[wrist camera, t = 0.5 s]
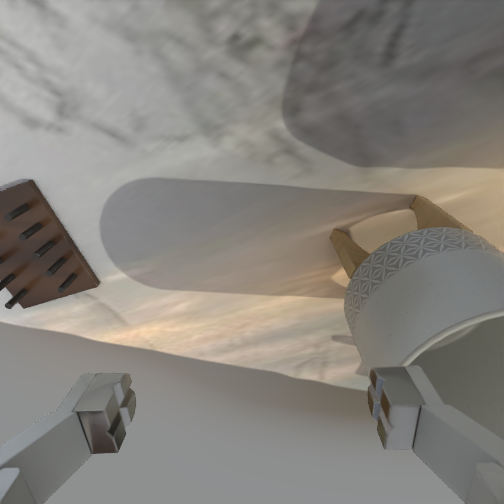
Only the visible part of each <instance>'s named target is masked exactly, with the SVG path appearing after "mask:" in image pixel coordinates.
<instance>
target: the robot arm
mask: <svg viewBox="0 0 504 504" xmlns="http://www.w3.org/2000/svg"><path fill="white" fill-rule="evenodd" d="M369 377H370V380H371V382H372V384H371V385H370V386H369V387H368V404H369V408H370V412H371V415H372V417H373V418H374V419H375V420H376V421H377V422H378V426H377V431H378V434H379V436H380V439H381V442H382V444H383V447H384V449H401V450H402V449H403V450H405V449H406V450H413V452H414V453H415V454H416V455H417V456H418V457H419V458H420V459H421V460H422V461H423V462H424V463H425V464H426V465H427V466H428V467H429V468H430V469H431V470H432V471H433V472H434V473H435V474H436V475H437V476H438V477H439V478H440V479H441V480H442V481H443V482H444V483H445V484H446V485H447V486H448V487H449V488H450V489H451V490H452V491H453V492H454V493H456V494H457V495H458V496H459V498H460V499H461V500H462V501H464V503H465V504H504V440H503V439H502V438H500V437H499V436H497V435H496V434H494V433H492V432H491V431H489V430H488V429H486V428H485V427H483V426H482V425H480V424H479V423H477V422H476V421H474V420H473V419H471V418H469V417H468V416H466V415H465V414H463V413H462V412H460V411H459V410H457V409H456V408H454V407H453V406H451V405H445V404H444V403H443V401H442V399H441V398H440V396H439V395H438V393H437V392H436V390H435V389H434V387H433V385H432V384H431V382H430V381H429V379H428V378H427V376H426V375H425V373H424V371H423V370H422V368H421V367H420V366H418V365H414V366H392V367H371V369H370V374H369ZM131 382H132V381H131V378H130V374H127V373H99V374H90V373H87V374H83V375H82V376H80V378H79V379H78V381H77V382H76V383H75V385H74V386H73V388H72V389H71V391H70V392H69V393H68V395H67V396H66V398H65V399H64V401H63V402H62V403H61V405H60V406H59V408H58V409H57V411H56V412H51V413H49V414H48V415H46V416H45V417H43V418H42V419H40V420H39V421H37V422H36V423H34V424H33V425H31V426H30V427H28V428H27V429H25V430H24V431H22V432H21V433H19V434H17V435H16V436H14V437H13V438H11V439H10V440H8V441H7V442H5V443H4V444H2V445H1V446H0V504H43V503H44V502H45V501H46V500H47V499H48V498H49V497H50V496H51V495H52V494H53V493H54V492H55V491H56V490H57V489H58V488H59V487H61V485H63V483H65V482H66V480H67V479H69V478H70V477H71V476H72V475H73V473H75V472H76V471H77V470H78V469H79V468H80V467H81V466H82V465H83V463H85V461H87V460H88V459H89V458H90V457H91V454H99V453H118V452H119V449H120V447H121V445H122V442H123V440H124V438H125V435H126V432H125V428H124V427H126V426H127V425H128V424H129V423H130V422H131V421H132V418H133V416H134V413H135V407H136V397H135V393H134V391H133V390H131V389H130V388H129V387H130V385H131Z"/></svg>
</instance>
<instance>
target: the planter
mask: <svg viewBox="0 0 504 504" xmlns="http://www.w3.org/2000/svg"><path fill="white" fill-rule="evenodd" d="M410 207H411V208H412V209H413V210H414V212H415V214H416V217H417V223H418V230H417V231H413V232H410V233H407V234H404V235H402V236H399V237H397V238H395V239H393V240H391V241H389V242H388V243H386V244H384V245H382V246H381V247H380V248H378V249H377V250H376V251H374V252H373V253H372V254H369V253H368V252H366V251H365V250H363V249H362V248H361V247H359V246H358V245H357V244H356V243H354V242H353V241H352V240H351V239H350V238H349V237H348V236H347V234H346V233H345V232H342V231H339V230H337V229H334V231H333V233H332V235H331V237H330V239H331V241H332V243H333V245H334V247H335V249H336V251H337V254H338V256H339V258H340V260H341V262H342V264H343V266H344V269H345V271H346V273H347V275H348V277H349V278H350V279H351V280H350V282H349V285H348V287H347V290H346V295H345V301H344V310H345V316H346V319H347V322H348V325H349V327H350V330H351V333H352V335H353V338H354V341H355V343H356V346H357V349H358V351H359V354H360V357H361V359H362V362H363V365H364V367H365V370H366V372H367V375H368V378H369V380H370V377H369V374H370V369H371V367H392V366H414V365H418V366H420V367H421V368H422V370H423V371H424V373H425V375H426V376H427V378H428V379H429V381H430V382H431V384H432V385H433V387H434V389H435V390H436V392H437V393H438V395H439V396H440V398H441V399H442V401H443V403H444V404H445V405H451V406H453V407H454V408H456V409H457V410H459V411H460V412H462V413H463V414H465V415H466V416H468V417H469V418H471V419H473V420H474V421H476V422H477V423H479V424H480V425H482V426H483V427H485V428H486V429H488V430H489V431H491V432H492V433H494V434H496V435H497V436H499V437H500V438H502V439H503V440H504V253H503V252H502V251H500V250H499V249H497V248H496V247H495V246H493V245H492V244H490V243H489V242H487V241H486V240H485V239H483V238H482V237H480V236H478V235H476V234H474V233H473V231H471V230H470V229H469V228H467V227H466V226H464V225H463V224H462V223H460V222H459V221H457V220H456V219H455V218H453V217H452V216H450V215H449V214H448V213H446V212H445V211H443V210H442V209H441V208H439V207H438V206H436V205H435V204H434V203H432V202H431V201H429V200H428V199H426V198H424V197H421V196H419V195H417V197H416V198H415V200H414V201H413V203H412V205H411V206H410ZM370 383H371V384H372V382H371V380H370ZM412 451H413V450H412Z"/></svg>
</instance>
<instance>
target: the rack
mask: <svg viewBox="0 0 504 504" xmlns="http://www.w3.org/2000/svg"><path fill="white" fill-rule="evenodd" d="M99 284H100V281H99V280H98V278H97V277H96V275H95V274H94V272H93V271H92V269H91V268H90V266H89V265H88V263H87V262H86V260H85V259H84V257H83V256H82V254H81V253H80V251H79V250H78V248H77V246H76V245H75V243H74V242H73V240H72V239H71V237H70V236H69V234H68V233H67V231H66V230H65V228H64V227H63V225H62V224H61V222H60V221H59V219H58V218H57V216H56V215H55V213H54V211H53V210H52V208H51V207H50V205H49V204H48V202H47V201H46V199H45V198H44V196H43V195H42V193H41V192H40V190H39V189H38V187H37V186H36V184H35V183H34V181H33V180H30V181H27V182H24V183H22V184H19V185H16V186H13V187H11V188H8V189H5V190H3V191H0V291H1V290H2V289H3V288H4V287H6V288H7V289H8V290H9V292H10V293H11V294H12V295H13V296H14V297H13V298H11V299H10V300H9V301H8V302H7V303H6V304H5V307H6V308H8V309H11V308H12V307H13V306H14V305H15V304H16V303H17V302H19V304H20V305H21V306H22V307H23V309H25V308H28V307H31V306H35V305H38V304H41V303H45V302H48V301H51V300H55V299H58V298H61V297H65V296H68V295H71V294H75V293H78V292H81V291H85V290H88V289H91V288H95V287H98V285H99Z"/></svg>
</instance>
